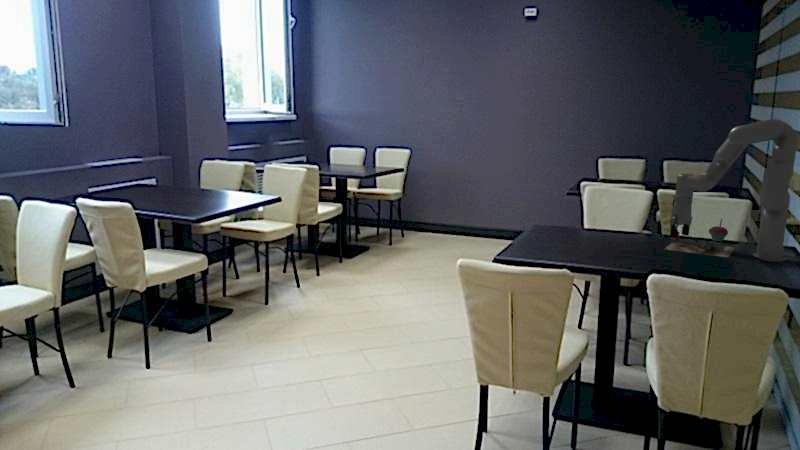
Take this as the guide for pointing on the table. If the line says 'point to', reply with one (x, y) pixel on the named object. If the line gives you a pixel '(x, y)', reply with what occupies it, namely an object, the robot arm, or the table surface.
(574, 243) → the table surface
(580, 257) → the table surface
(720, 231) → the cupcake
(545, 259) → the table surface
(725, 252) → the cracker base
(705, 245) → the walnut
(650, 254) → the table surface
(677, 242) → the lever
